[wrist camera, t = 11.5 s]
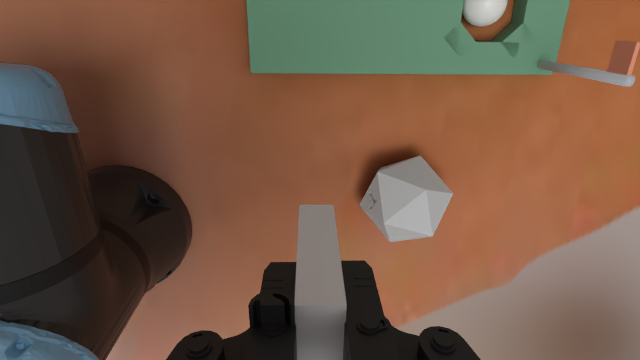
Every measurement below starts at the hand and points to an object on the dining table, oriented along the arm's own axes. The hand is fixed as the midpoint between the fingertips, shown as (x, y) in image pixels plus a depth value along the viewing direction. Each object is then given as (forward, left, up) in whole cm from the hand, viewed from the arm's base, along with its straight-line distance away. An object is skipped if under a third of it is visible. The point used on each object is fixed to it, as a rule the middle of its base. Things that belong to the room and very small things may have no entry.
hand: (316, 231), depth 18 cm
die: (+10, -9, -27) cm, 30 cm away
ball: (+16, +10, -24) cm, 31 cm away
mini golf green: (+9, +10, -26) cm, 30 cm away
